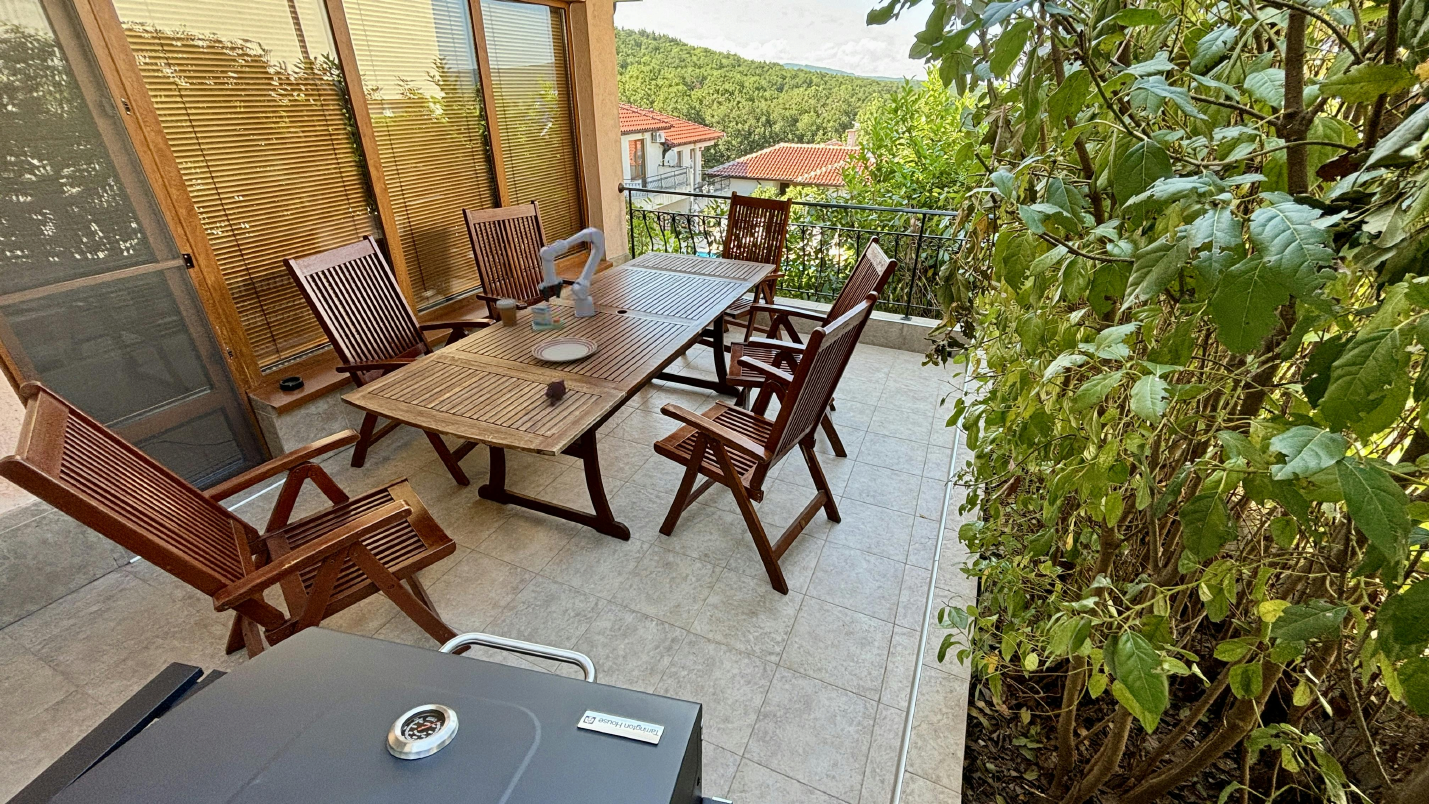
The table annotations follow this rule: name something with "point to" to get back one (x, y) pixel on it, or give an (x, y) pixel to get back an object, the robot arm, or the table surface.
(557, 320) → the power button
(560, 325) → the scale
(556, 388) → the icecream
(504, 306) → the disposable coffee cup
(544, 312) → the medicine box
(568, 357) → the dinner plate
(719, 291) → the table surface
